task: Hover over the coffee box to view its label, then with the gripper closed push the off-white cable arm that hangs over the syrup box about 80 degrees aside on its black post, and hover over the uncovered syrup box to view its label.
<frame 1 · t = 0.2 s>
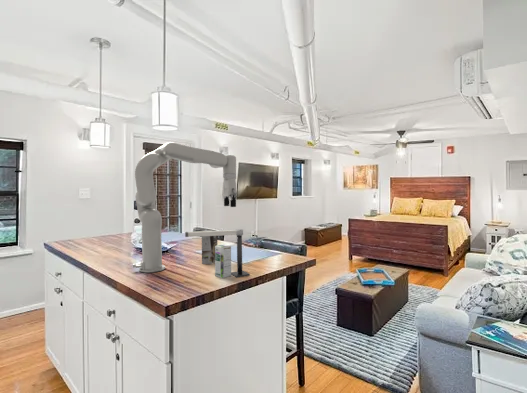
hand: (229, 206, 183), 31 cm above the table, tool pointing down, fingers open, 9 cm apart
coffee box: (210, 262, 178), on the table
syrup box: (223, 276, 150), on the table
stand: (239, 274, 152), on the table
cable arm: (214, 233, 149), point 20 cm above the table, hinge at 0.0°
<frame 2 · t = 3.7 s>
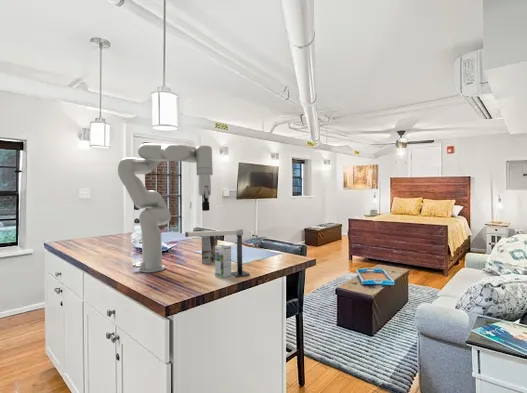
hand: (205, 210, 151), 31 cm above the table, tool pointing down, fingers closed
nothing on the table moved.
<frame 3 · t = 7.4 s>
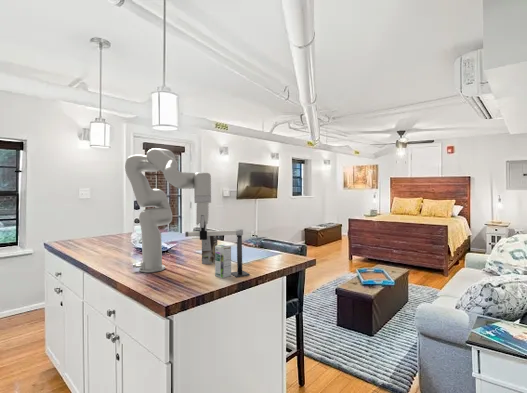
hand: (203, 239, 145), 18 cm above the table, tool pointing down, fingers closed
cable arm: (214, 233, 149), point 21 cm above the table, hinge at 2.0°, touching gripper
everything else where it was.
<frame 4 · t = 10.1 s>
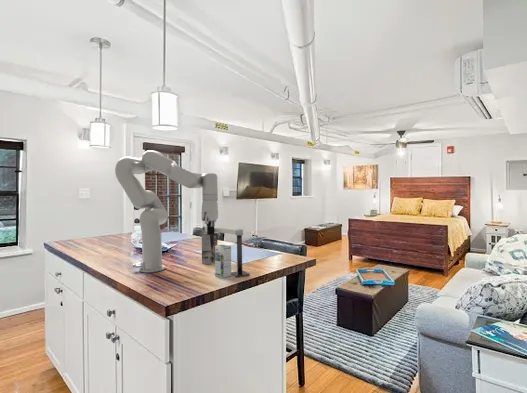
hand: (210, 234, 159), 18 cm above the table, tool pointing down, fingers closed
cable arm: (222, 230, 158), point 20 cm above the table, hinge at 49.2°, touching gripper
everything else where it was.
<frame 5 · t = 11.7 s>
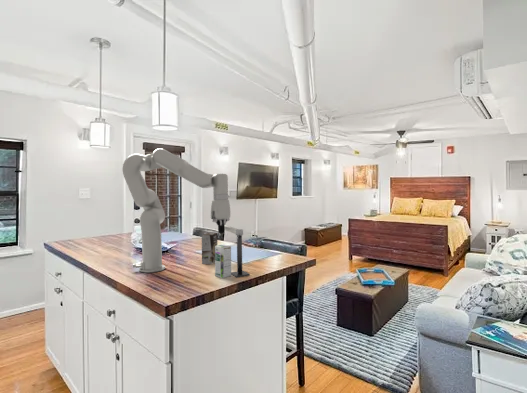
hand: (221, 232, 164), 18 cm above the table, tool pointing down, fingers closed
cable arm: (230, 229, 161), point 21 cm above the table, hinge at 74.0°, touching gripper
everything else where it was.
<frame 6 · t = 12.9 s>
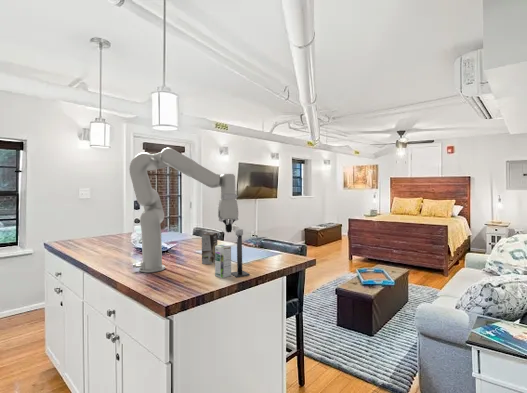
hand: (228, 232, 167), 18 cm above the table, tool pointing down, fingers closed
cable arm: (236, 229, 162), point 20 cm above the table, hinge at 88.3°, touching gripper
everything else where it was.
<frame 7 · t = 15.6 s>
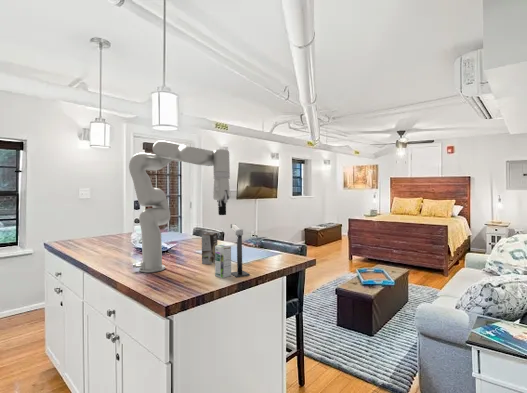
hand: (222, 214, 149), 29 cm above the table, tool pointing down, fingers closed
cable arm: (236, 229, 162), point 21 cm above the table, hinge at 88.3°
everything else where it was.
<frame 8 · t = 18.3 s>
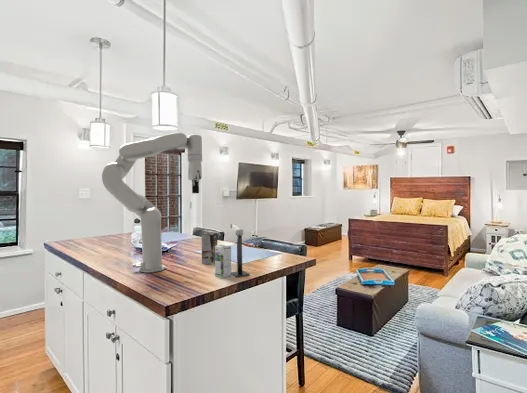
hand: (195, 193, 168), 39 cm above the table, tool pointing down, fingers closed
nothing on the table moved.
at the end: cable arm at +88° (first picture: +0°); syrup box moved 0.2 cm from its start; coffee box moved 0.2 cm from its start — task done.
